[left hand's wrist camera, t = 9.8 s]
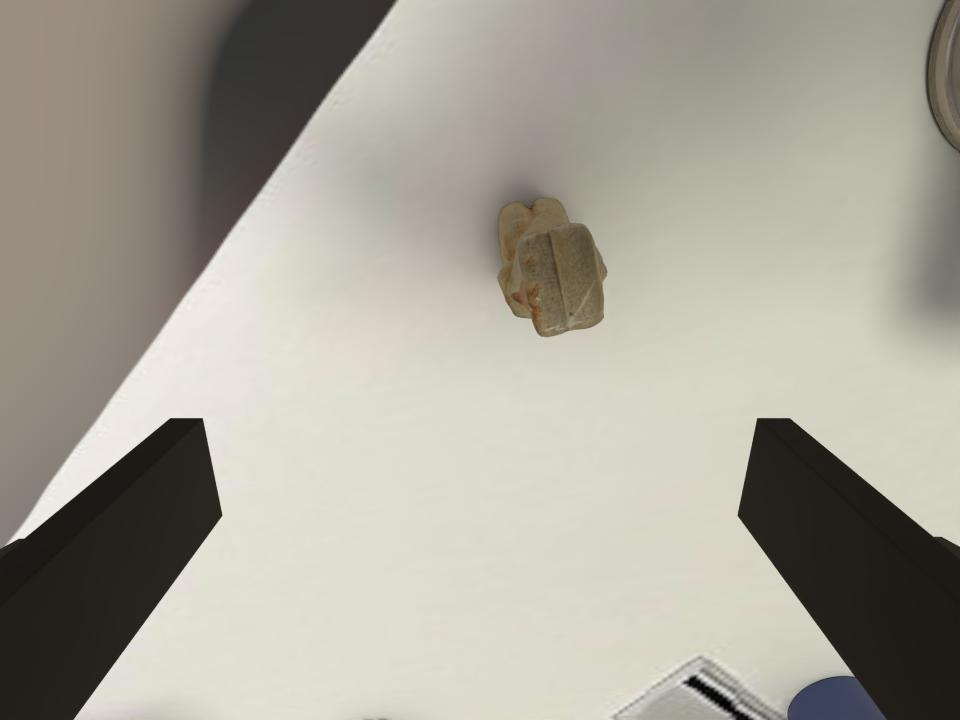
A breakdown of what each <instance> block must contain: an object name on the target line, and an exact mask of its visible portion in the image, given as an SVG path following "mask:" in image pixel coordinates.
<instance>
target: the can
mask: <svg viewBox="0 0 960 720" xmlns="http://www.w3.org/2000/svg"><path fill="white" fill-rule="evenodd" d="M788 720H886V718H885V717H884V715H883V714H882V713H881V711H880V710H879V709H878V707H877V706H876V704H875V703H874V702H873V700H872V699H871V698H870V696H869V695H868V694H867V692H866V691H865V689H864V688H863V687H862V685H861V684H860V683H859V681H858V680H857V678H853V677H834V678H828V679H825V680H821V681H819V682H816V683H814V684H812V685H810V686H808V687H807V688H805V689H804V690H803V691H801V692H800V693H799V694H798V695H797V696H796V697H795V698H794V700H793V701H792V703H791V705H790V707H789V711H788Z"/></svg>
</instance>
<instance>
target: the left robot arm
mask: <svg viewBox="0 0 960 720" xmlns="http://www.w3.org/2000/svg"><path fill="white" fill-rule="evenodd" d="M928 83H929V94H930V101H931V105H932V109H933V112H934V115H935V118H936V120H937V122H938V124H939V126H940V128H941V130H942V132H943V133H944V135H945V136H946V138H947V139H948V140H949V141H950V142H951V143H952V145H953V146H954V147H956V148H957V149H958V150H959V151H960V0H948V2H947V4H946V6H945V8H944V10H943V13H942V15H941V18H940V20H939V23H938V26H937V29H936V32H935V35H934V39H933V43H932V47H931V53H930V60H929V71H928ZM221 517H222V511H221V506H220V501H219V496H218V491H217V486H216V481H215V476H214V472H213V467H212V462H211V457H210V452H209V447H208V442H207V437H206V432H205V427H204V422H203V418H170V419H169V420H168V421H166V422H165V423H164V424H163V425H162V426H160V427H159V428H158V429H157V430H156V431H154V432H153V433H152V434H151V435H149V436H148V437H147V438H146V439H145V440H143V441H142V442H141V443H140V444H139V445H137V446H136V447H135V448H134V449H133V450H131V451H130V452H129V453H128V454H126V455H125V456H124V457H123V458H122V459H120V460H119V461H118V462H117V463H116V464H114V465H113V466H112V467H111V468H109V469H108V470H107V471H106V472H105V473H103V474H102V475H101V476H100V477H99V478H97V479H96V480H95V481H94V482H93V483H91V484H90V485H89V486H88V487H86V488H85V489H84V490H83V491H82V492H80V493H79V494H78V495H77V496H76V497H74V498H73V499H72V500H71V501H69V502H68V503H67V504H66V505H65V506H63V507H62V508H61V509H60V510H59V511H57V512H56V513H55V514H54V515H53V516H51V517H50V518H49V519H48V520H46V521H45V522H44V523H43V524H42V525H40V526H39V527H38V528H37V529H36V530H34V531H33V532H32V533H31V534H29V535H28V536H27V537H26V538H25V539H18V540H16V541H14V542H12V543H11V544H9V545H7V546H5V547H3V548H1V549H0V720H74V718H75V717H76V715H77V714H78V713H79V711H80V710H81V709H82V707H83V706H84V704H85V703H86V702H87V700H88V699H89V698H90V696H91V695H92V694H93V692H94V691H95V689H96V688H97V687H98V685H99V684H100V683H101V681H102V680H103V678H104V677H105V676H106V674H107V673H108V672H109V670H110V669H111V667H112V666H113V665H114V663H115V662H116V661H117V659H118V658H119V657H120V655H121V654H122V652H123V651H124V650H125V648H126V647H127V646H128V644H129V643H130V641H131V640H132V639H133V637H134V636H135V635H136V633H137V632H138V631H139V629H140V628H141V626H142V625H143V624H144V622H145V621H146V620H147V618H148V617H149V615H150V614H151V613H152V611H153V610H154V609H155V607H156V606H157V604H158V603H159V602H160V600H161V599H162V598H163V596H164V595H165V594H166V592H167V591H168V589H169V588H170V587H171V585H172V584H173V583H174V581H175V580H176V578H177V577H178V576H179V574H180V573H181V572H182V570H183V569H184V568H185V566H186V565H187V563H188V562H189V561H190V559H191V558H192V557H193V555H194V554H195V552H196V551H197V550H198V548H199V547H200V546H201V544H202V543H203V541H204V540H205V539H206V537H207V536H208V535H209V533H210V532H211V531H212V529H213V528H214V526H215V525H216V524H217V522H218V521H219V520H220V518H221ZM738 517H739V518H740V520H741V521H742V522H743V524H744V525H745V526H746V528H747V529H748V531H749V532H750V533H751V535H752V536H753V537H754V539H755V540H756V541H757V543H758V544H759V546H760V547H761V548H762V550H763V551H764V552H765V554H766V555H767V557H768V558H769V559H770V561H771V562H772V563H773V565H774V566H775V568H776V569H777V570H778V572H779V573H780V574H781V576H782V577H783V578H784V580H785V581H786V583H787V584H788V585H789V587H790V588H791V589H792V591H793V592H794V594H795V595H796V596H797V598H798V599H799V600H800V602H801V603H802V604H803V606H804V607H805V609H806V610H807V611H808V613H809V614H810V615H811V617H812V618H813V620H814V621H815V622H816V624H817V625H818V626H819V628H820V629H821V631H822V632H823V633H824V635H825V636H826V637H827V639H828V640H829V641H830V643H831V644H832V646H833V647H834V648H835V650H836V651H837V652H838V654H839V655H840V657H841V658H842V659H843V661H844V662H845V663H846V665H847V666H848V667H849V669H850V670H851V672H852V673H853V674H854V676H855V677H856V678H857V680H858V681H859V683H860V684H861V685H862V687H863V688H864V689H865V691H866V692H867V694H868V695H869V696H870V698H871V699H872V700H873V702H874V703H875V704H876V706H877V707H878V709H879V710H880V711H881V713H882V714H883V715H884V717H885V718H886V720H960V547H959V546H957V545H955V544H954V543H952V542H950V541H948V540H946V539H944V538H943V537H933V536H932V535H931V534H929V533H928V532H927V531H926V530H924V529H923V528H922V527H921V526H920V525H918V524H917V523H916V522H915V521H914V520H912V519H911V518H910V517H909V516H907V515H906V514H905V513H904V512H903V511H901V510H900V509H899V508H898V507H897V506H895V505H894V504H893V503H892V502H891V501H889V500H888V499H887V498H886V497H884V496H883V495H882V494H881V493H880V492H878V491H877V490H876V489H875V488H874V487H872V486H871V485H870V484H869V483H867V482H866V481H865V480H864V479H863V478H861V477H860V476H859V475H858V474H857V473H855V472H854V471H853V470H852V469H851V468H849V467H848V466H847V465H846V464H844V463H843V462H842V461H841V460H840V459H838V458H837V457H836V456H835V455H834V454H832V453H831V452H830V451H829V450H827V449H826V448H825V447H824V446H823V445H821V444H820V443H819V442H818V441H817V440H815V439H814V438H813V437H812V436H811V435H809V434H808V433H807V432H806V431H804V430H803V429H802V428H801V427H800V426H798V425H797V424H796V423H795V422H794V421H792V420H791V419H790V418H757V422H756V427H755V432H754V437H753V442H752V447H751V452H750V457H749V462H748V467H747V472H746V476H745V481H744V486H743V491H742V496H741V501H740V506H739V511H738Z"/></svg>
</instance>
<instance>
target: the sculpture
mask: <svg viewBox="0 0 960 720" xmlns="http://www.w3.org/2000/svg"><path fill="white" fill-rule="evenodd" d="M498 233H499V243H500V250H501V256H502V261H503V266H504V267H503V268H502V269H501V271H500V272H499V274H498V282H499V284H500V287H501V289H502V292H503V294H504V296H505V300H506V302H507V304H508V305H509V306H510V308H511V310H512V312H513V314H514V315H515V316H517V317H521V318H530V319H532V322H533V324H534V327H535V329H536V331H537V333H538V334H539V335H540V336H541V337H551V336H555V335H559V334H562V333H564V332H567V331H571V330H576V329H586V328H590V327H593V326H595V325H597V324H598V323H599V322H601V321H602V319H603V318H604V314H603V309H604V296H603V288H602V282H603V280H604V279H605V277H606V276H607V269H606V266H605V265H604V263H603V259H602V256H601V254H600V253H599V251H598V249H597V248H596V246H595V243H594V240H593V237H592V235H591V233H590V231H589V230H588V228H587V227H586V226H585V225H583V224H578V223H569V220H568V217H567V215H566V212H565V210H564V207H563V205H562V204H561V203H560V201H559V200H557V199H552V198H541V199H539V200H535V201H534V203H533V206H532V209H529V208H527V207H525V206H524V205H523V204H522V203H521V202H516V203H512V204H509V205H507V206H505V207H504V208H503V209H502V210H501V212H500V214H499V218H498Z"/></svg>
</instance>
